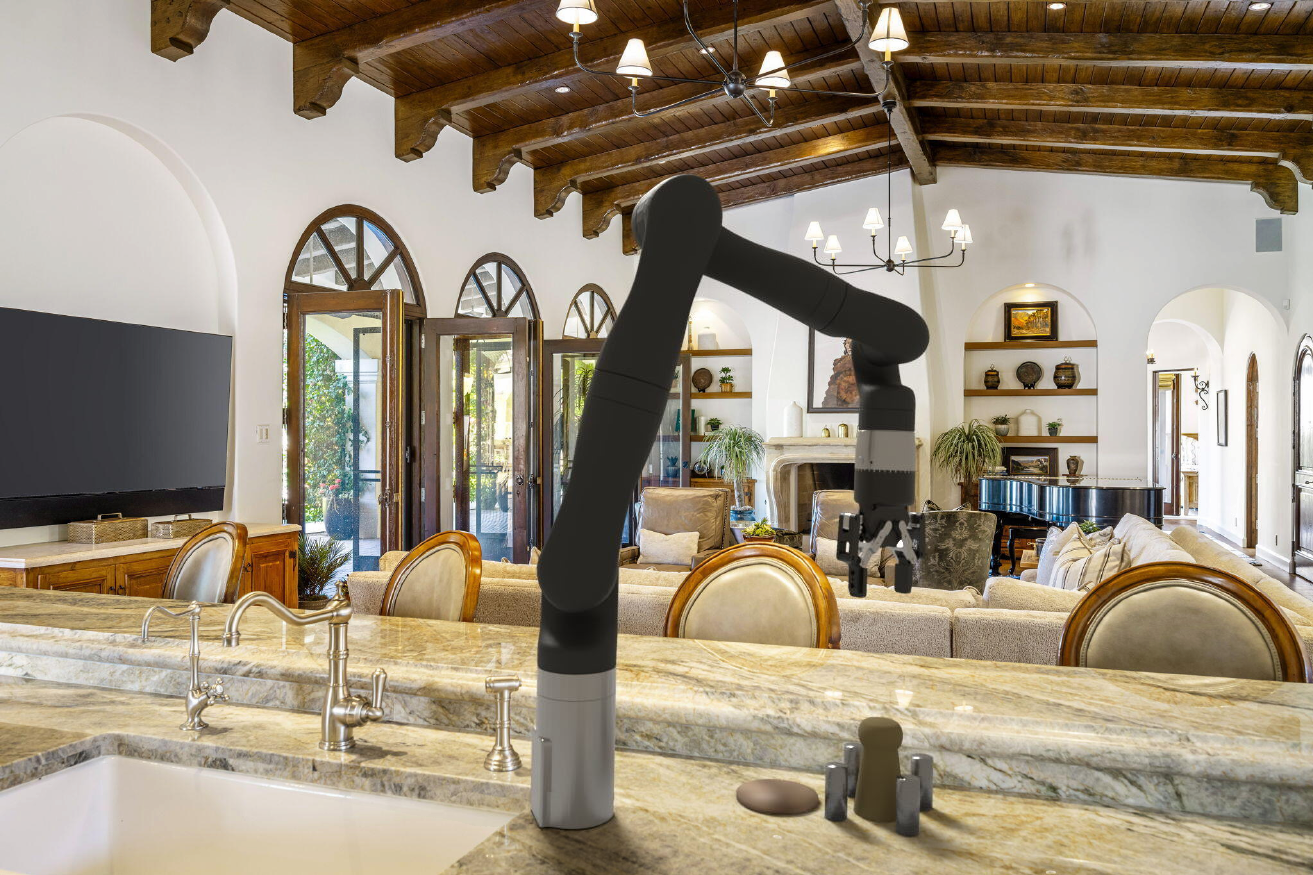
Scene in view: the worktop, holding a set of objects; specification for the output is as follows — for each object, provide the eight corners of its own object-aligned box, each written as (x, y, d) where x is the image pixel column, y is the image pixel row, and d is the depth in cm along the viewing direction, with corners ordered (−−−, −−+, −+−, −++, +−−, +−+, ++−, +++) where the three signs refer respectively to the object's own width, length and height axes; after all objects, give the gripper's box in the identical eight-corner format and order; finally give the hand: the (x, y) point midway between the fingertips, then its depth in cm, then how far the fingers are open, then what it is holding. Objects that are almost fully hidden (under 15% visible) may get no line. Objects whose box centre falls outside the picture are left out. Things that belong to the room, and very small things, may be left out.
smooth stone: (756, 819, 105) (756, 813, 105) (723, 787, 114) (723, 783, 114) (833, 809, 108) (833, 804, 108) (795, 780, 117) (795, 775, 117)
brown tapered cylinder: (907, 824, 104) (908, 728, 104) (853, 819, 105) (855, 724, 105) (903, 804, 110) (905, 713, 110) (852, 800, 111) (854, 710, 111)
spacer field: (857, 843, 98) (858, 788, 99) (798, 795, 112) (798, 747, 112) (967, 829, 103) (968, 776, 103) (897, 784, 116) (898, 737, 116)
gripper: (870, 467, 108) (865, 603, 107) (944, 469, 116) (940, 595, 116) (823, 465, 114) (819, 594, 113) (898, 467, 122) (894, 587, 122)
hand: (880, 594), depth 115 cm, fingers open, 8 cm apart
